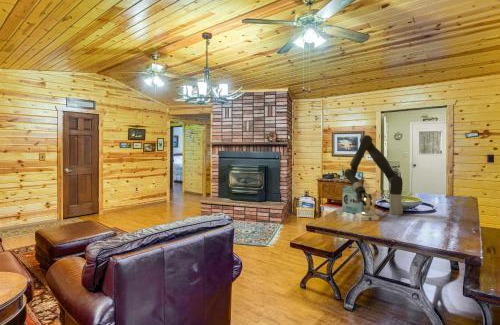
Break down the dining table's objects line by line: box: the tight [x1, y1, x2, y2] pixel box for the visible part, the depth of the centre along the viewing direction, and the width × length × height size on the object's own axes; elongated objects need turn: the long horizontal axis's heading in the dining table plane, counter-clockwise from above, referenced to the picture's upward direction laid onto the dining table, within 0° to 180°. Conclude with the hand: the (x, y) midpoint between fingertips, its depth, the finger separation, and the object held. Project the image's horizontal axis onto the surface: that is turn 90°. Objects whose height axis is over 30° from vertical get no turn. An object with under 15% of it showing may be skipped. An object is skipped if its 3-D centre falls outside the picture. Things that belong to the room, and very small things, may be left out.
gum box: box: [341, 185, 366, 215], centre depth 256 cm, size 20×5×23 cm, turn 37°
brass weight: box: [364, 197, 371, 211], centre depth 236 cm, size 5×5×10 cm
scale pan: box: [360, 210, 376, 215], centre depth 236 cm, size 11×11×1 cm
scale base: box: [355, 213, 380, 222], centre depth 237 cm, size 14×12×3 cm
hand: (368, 205), depth 234 cm, fingers closed on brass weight, 5 cm apart
